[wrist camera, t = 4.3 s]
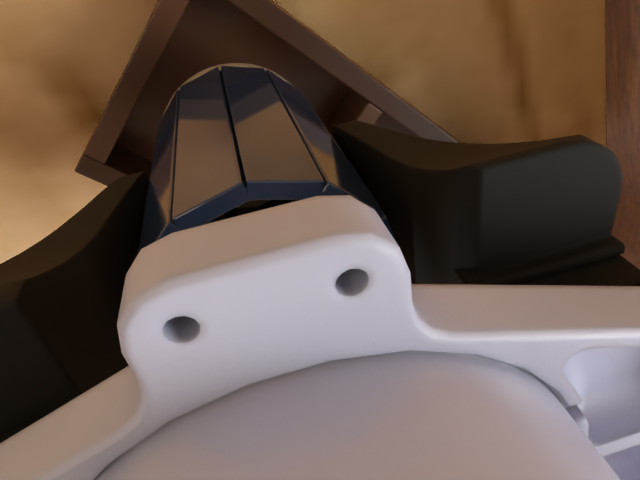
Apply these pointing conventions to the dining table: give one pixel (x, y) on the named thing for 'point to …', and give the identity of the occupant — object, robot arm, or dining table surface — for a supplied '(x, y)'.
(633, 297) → the robot arm
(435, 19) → the dining table surface
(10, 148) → the dining table surface
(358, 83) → the cup holder
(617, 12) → the tissue box cover
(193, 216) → the cup
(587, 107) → the dining table surface
